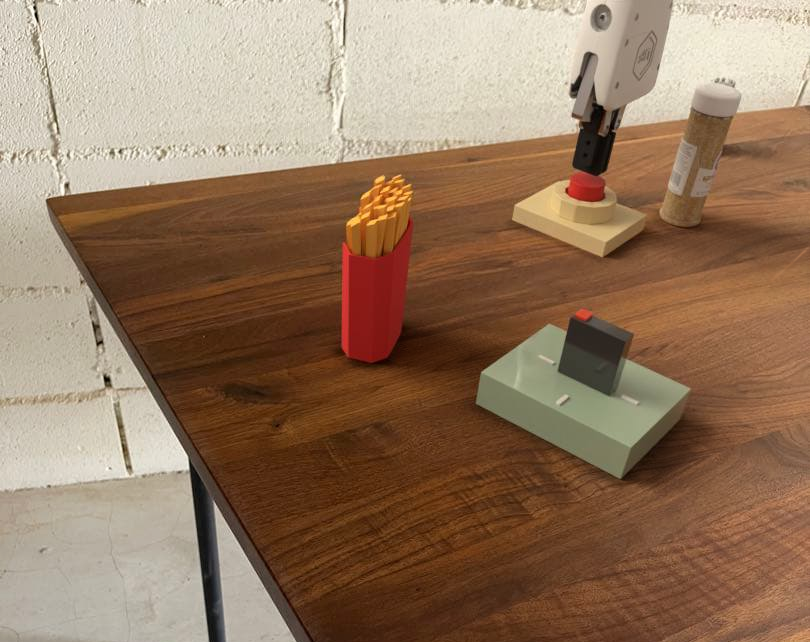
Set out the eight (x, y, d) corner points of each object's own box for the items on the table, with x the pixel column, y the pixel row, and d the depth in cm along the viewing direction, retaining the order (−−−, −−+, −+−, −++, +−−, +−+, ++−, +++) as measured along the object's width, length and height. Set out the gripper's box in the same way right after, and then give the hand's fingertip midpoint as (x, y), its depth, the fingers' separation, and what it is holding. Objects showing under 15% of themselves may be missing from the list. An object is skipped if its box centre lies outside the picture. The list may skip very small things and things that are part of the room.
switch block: (643, 230, 94) (652, 198, 92) (602, 257, 89) (610, 224, 87) (555, 195, 99) (562, 164, 96) (511, 220, 93) (517, 187, 91)
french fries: (363, 309, 78) (371, 161, 69) (409, 319, 78) (424, 171, 68) (329, 364, 72) (333, 208, 63) (380, 375, 71) (391, 220, 62)
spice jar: (701, 231, 95) (745, 99, 86) (658, 225, 95) (698, 93, 86) (697, 213, 98) (740, 84, 89) (656, 207, 99) (694, 78, 89)
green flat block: (679, 419, 70) (692, 386, 68) (620, 479, 64) (631, 445, 62) (542, 354, 75) (549, 321, 73) (475, 403, 70) (481, 370, 67)
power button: (608, 197, 92) (612, 180, 91) (591, 207, 90) (595, 190, 89) (578, 186, 93) (582, 169, 92) (560, 195, 91) (564, 179, 90)
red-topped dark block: (617, 388, 67) (635, 330, 64) (609, 396, 66) (626, 338, 63) (565, 363, 69) (580, 306, 66) (556, 371, 68) (570, 313, 65)
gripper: (637, -18, 71) (583, 204, 84) (713, -42, 80) (654, 162, 93) (558, -41, 74) (518, 178, 87) (640, -61, 83) (593, 140, 96)
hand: (588, 169), depth 90 cm, fingers closed
